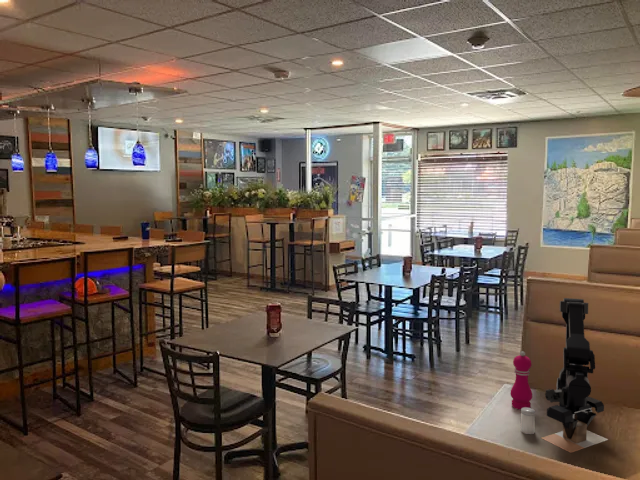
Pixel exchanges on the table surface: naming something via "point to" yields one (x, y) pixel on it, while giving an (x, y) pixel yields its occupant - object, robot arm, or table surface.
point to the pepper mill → (521, 382)
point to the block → (578, 433)
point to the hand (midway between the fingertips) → (574, 436)
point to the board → (571, 446)
